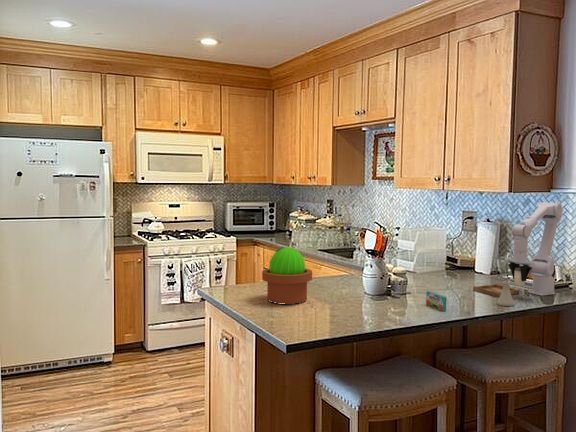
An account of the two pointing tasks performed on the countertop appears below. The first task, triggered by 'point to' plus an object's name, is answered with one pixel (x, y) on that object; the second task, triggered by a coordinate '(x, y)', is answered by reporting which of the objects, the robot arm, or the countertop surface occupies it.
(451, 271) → the countertop surface
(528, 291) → the robot arm
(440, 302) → the teal printed box
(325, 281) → the countertop surface
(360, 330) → the countertop surface
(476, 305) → the countertop surface
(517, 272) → the pepper shaker
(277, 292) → the potted cactus
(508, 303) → the flask
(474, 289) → the tray
